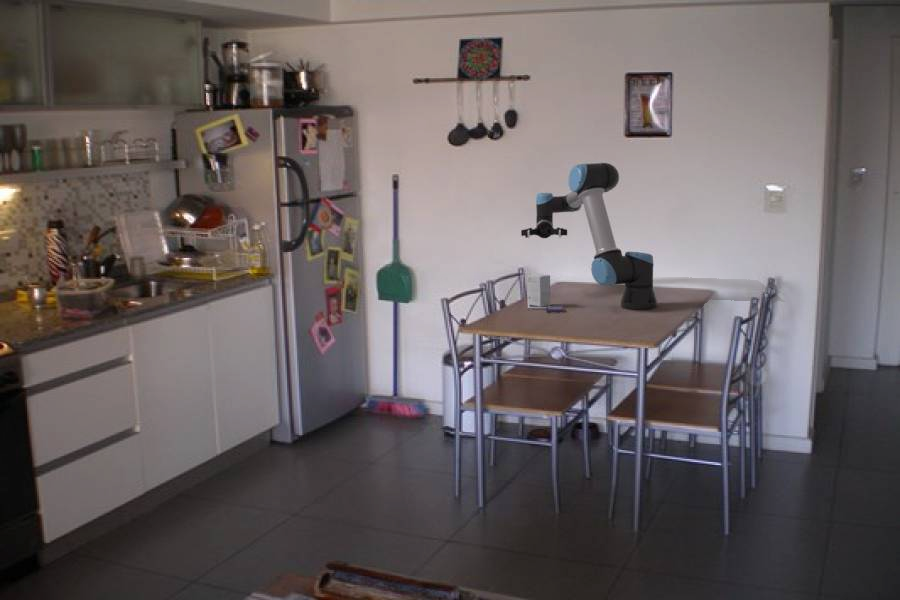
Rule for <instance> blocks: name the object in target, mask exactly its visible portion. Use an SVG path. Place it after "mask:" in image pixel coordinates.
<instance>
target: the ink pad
mask: <svg viewBox="0 0 900 600" xmlns="http://www.w3.org/2000/svg"><path fill="white" fill-rule="evenodd" d="M547 312H548V313H547ZM551 312H557V313H556V314H559V313H558V312H565V311H564V306H550V307H547V310H546V313H547V314H552V313H551Z"/></svg>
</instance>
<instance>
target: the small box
mask: <svg viewBox="0 0 900 600" xmlns="http://www.w3.org/2000/svg"><path fill="white" fill-rule="evenodd" d="M526 278H527V281H526V282H527V284H526V287H527V292H526V293H527V296H526V297H527V300H526V301H527V306H528V305H533V306H539V307H542V306H547V305H550V306H551V275H550V274H543V273H542V274H541V273H533V274H527V276H526Z"/></svg>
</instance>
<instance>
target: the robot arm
mask: <svg viewBox="0 0 900 600" xmlns="http://www.w3.org/2000/svg"><path fill="white" fill-rule="evenodd" d="M619 180H620V174H619V171H618V170H617V168H616V167H615V166H614V165H612V164H610V163H608V162H599V163H581V164H575V165H574V166H573V167H572V168H571V169H570V171H569V175H568V187H569V189H570V191H571V192H569V193H568V194H566V195H562V196H561V195H560V196H553V195H554V194H553V193H552V192H539V193H537V194H536V199H535V201H536V202H535V204H536V206H535V207H536V208H535V209H536V217H535V218H536V222H535V223H536V227H535V228H532V227H529V228H526V229H521V231H520V233H521V236H522V237H525V238H527V239H530V237H531V236H538V237H539V238H541V239H547V238H550V237H551V236H554V235H555V236H558V238H559V239H561V237H562V236H568V229H567V228H564V227H556V228H554V224H553V221H554V218H553V217H554V216H553V214H556V213H557V214H558V213H574V212H578V211H579V210H581V208H582V205H583V207H584V212H585V215H586V218H587V222H588V226H589V230H590V234H591V237H592V242H593V245H594V248H595V255H594V256H593V260H592V262H591V267H590V269H591V271H590V272H591V274H592V277H593V279H594V281H595V282H596V283H597V284H599V285H600V286H605V287H606V286H616V285H624V291H623V293H622V296H621V299H620V307H621V308H624V309H629V310H651V309H654V308H657V305H658V301H657V297H656V293H655V291H654V287H653V286H654V257H653V255H652V254H651V253H647V252H638V251H626V252H624V253H625V254H624V255H623V253H622V250H621V248H618V247H617V245H616V241H615V238H614V234H613V230H612V227H611V222H610V219H609V215H608V212H607V208H606V204H605V200H604V197H603V194H604V193H607V192H610V191H611V190H613V189H615V187H617V185H618V184H619Z"/></svg>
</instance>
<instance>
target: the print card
mask: <svg viewBox="0 0 900 600" xmlns="http://www.w3.org/2000/svg"><path fill="white" fill-rule="evenodd" d="M547 307H551V304H550V305H547V306H542V307H539V306H533V305H528V304H527V310H528V309H547Z"/></svg>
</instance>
